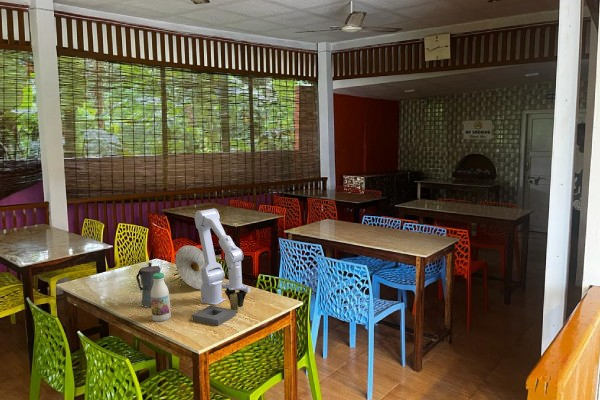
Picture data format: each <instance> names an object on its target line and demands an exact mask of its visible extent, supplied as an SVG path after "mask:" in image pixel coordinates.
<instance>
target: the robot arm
mask: <svg viewBox="0 0 600 400" xmlns="http://www.w3.org/2000/svg"><path fill="white" fill-rule="evenodd" d="M220 218H221V217H220V214H219V211H218V209H217V208H214V207H213V208H209V209H204V210H197V211H196V212H195V215H194V218H193V219H194V222H195V228H196V229H197V230H198V231H197V232H198V234H199V239H200V244H201V250H202V251H203V255H204V260H205V265H204V266H203V268H202V269H201V279H202V282H203V284H202V286H201V289H200V297H201V300H200V303H203V304H208V305H212V306H217V305H219V304H221V303H222V302H224V301H227V298H228V301H229V302H230V294H232V293H234V292H237V293H236V294H237V297H238V304H239V307H242V306H243V307H244V302H245V298H246V295H247V294H248V293H250V292H251V286H248V285H244V284H243V276H242V274H243V273H242V261H243V260H244V252H243V251H242V250H243V249H241V248H239V247H238V246H236V244H235V241H233V239H232V237H231V236H230V235H227V233H226V231H225V230H224V227H223V225H222V223H221V221H220ZM211 229H212V231H213V232H214V234H215V235H216V236H217V238H218V239H219V240H218V244H219V246H220V248H221V249H222V251H223V253H224V254H225V255H224V260H225V262H226V266H227V270H228V283H225V282H223V281H224V279H225V274H226V273H225V271H224V269H223V267H222V266H223V265H222V264H221V263H219V262H217V260H216V254H215V249H214V248H215V247H214V245H213V240H212V234H211ZM210 269H213V270H210ZM222 289H225V290H224V294H225V295H226V297H227V298H224V297H223V292H222Z"/></svg>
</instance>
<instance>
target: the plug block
mask: <svg viewBox="0 0 600 400" xmlns="http://www.w3.org/2000/svg"><path fill="white" fill-rule="evenodd" d="M237 292H238V291H235V292H234V293H232V294H230V301H229V304H230V305H229V306H230V309H232V310H235V311H236V314H239V313H240V312H242V311H244V305H243V306H242V307H239V304H238V297H237V294H236V293H237Z"/></svg>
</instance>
